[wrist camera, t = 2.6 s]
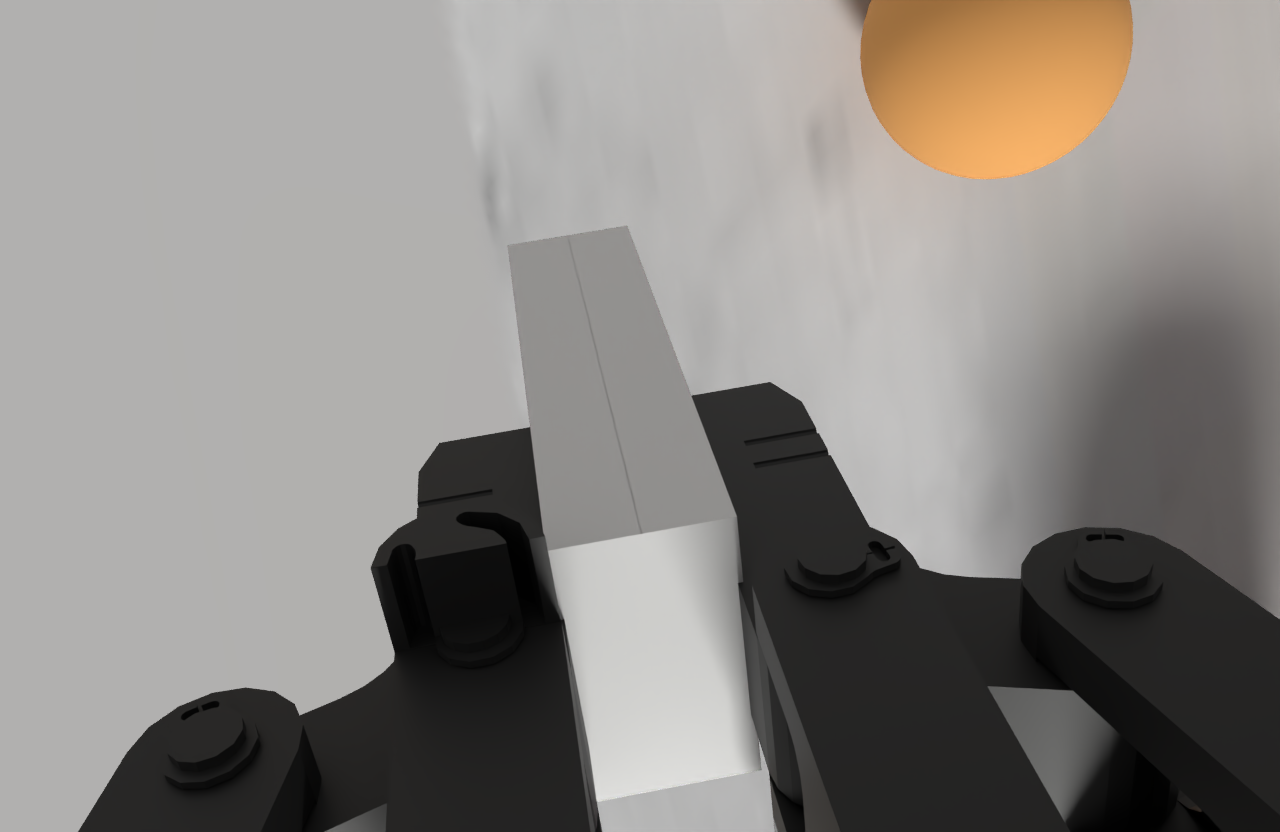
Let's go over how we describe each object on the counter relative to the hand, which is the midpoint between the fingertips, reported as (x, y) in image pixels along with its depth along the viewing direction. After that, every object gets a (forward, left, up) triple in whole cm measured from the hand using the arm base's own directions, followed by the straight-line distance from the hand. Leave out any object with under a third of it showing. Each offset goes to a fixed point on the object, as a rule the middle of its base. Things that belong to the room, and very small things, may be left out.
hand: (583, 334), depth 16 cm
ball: (-10, 0, -11) cm, 15 cm away
